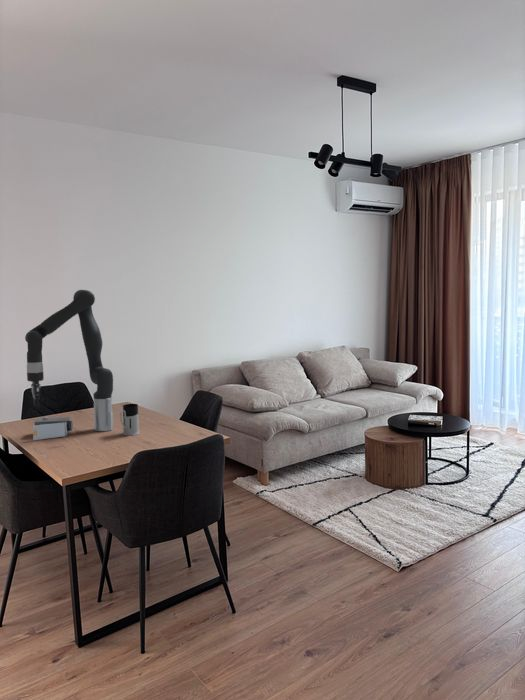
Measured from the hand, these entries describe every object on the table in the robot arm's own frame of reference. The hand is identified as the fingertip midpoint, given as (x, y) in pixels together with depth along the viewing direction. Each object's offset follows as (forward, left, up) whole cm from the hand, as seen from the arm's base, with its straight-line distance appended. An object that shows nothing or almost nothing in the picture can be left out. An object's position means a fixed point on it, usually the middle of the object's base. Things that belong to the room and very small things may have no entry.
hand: (36, 405), depth 272 cm
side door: (-6, 0, -17) cm, 18 cm away
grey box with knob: (-5, -9, -17) cm, 20 cm away
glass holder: (-44, -4, -17) cm, 47 cm away
